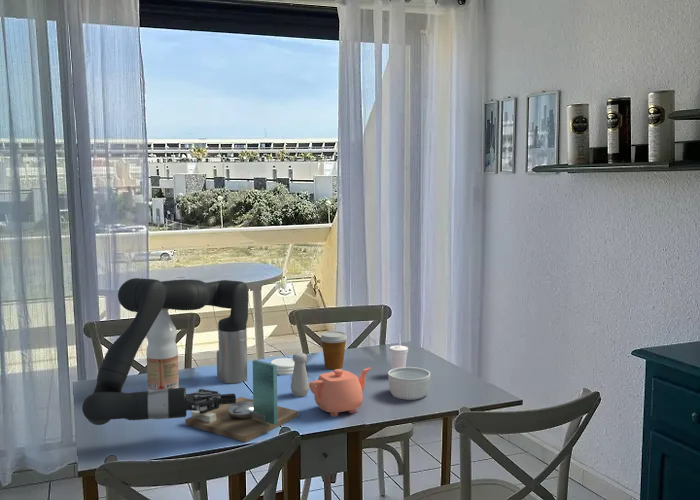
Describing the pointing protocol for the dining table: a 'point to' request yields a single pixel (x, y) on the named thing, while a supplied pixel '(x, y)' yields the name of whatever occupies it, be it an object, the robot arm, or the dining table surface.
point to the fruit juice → (162, 354)
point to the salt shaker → (299, 376)
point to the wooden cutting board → (237, 422)
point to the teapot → (339, 391)
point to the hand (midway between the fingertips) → (235, 398)
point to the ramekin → (409, 382)
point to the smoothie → (398, 355)
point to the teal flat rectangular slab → (260, 395)
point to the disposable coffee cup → (333, 349)
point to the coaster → (284, 366)
